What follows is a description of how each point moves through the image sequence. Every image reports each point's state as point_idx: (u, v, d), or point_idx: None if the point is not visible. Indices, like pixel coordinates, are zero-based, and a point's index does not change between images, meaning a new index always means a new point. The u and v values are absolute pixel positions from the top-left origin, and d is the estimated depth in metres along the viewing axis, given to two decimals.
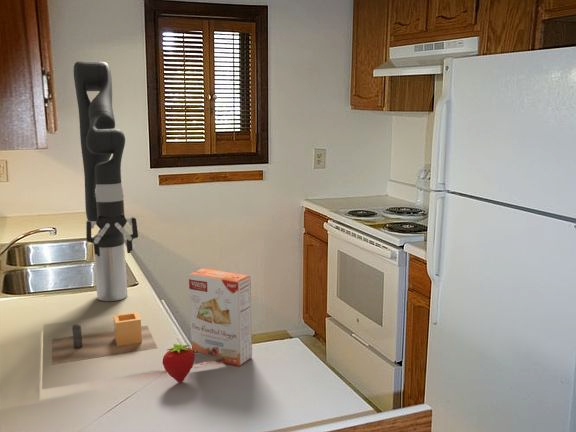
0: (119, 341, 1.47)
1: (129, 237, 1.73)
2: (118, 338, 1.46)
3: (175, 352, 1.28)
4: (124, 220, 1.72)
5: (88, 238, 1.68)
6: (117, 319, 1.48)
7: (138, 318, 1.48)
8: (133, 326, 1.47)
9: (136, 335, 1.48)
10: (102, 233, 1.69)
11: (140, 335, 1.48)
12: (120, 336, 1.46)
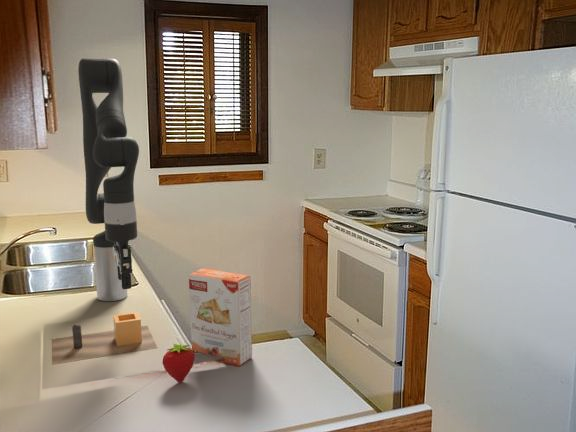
0: (119, 341, 1.47)
1: None
2: (118, 338, 1.46)
3: (175, 352, 1.28)
4: None
5: (131, 268, 1.41)
6: (117, 319, 1.48)
7: (138, 318, 1.48)
8: (133, 326, 1.47)
9: (136, 335, 1.48)
10: (131, 259, 1.44)
11: (140, 335, 1.48)
12: (120, 336, 1.46)
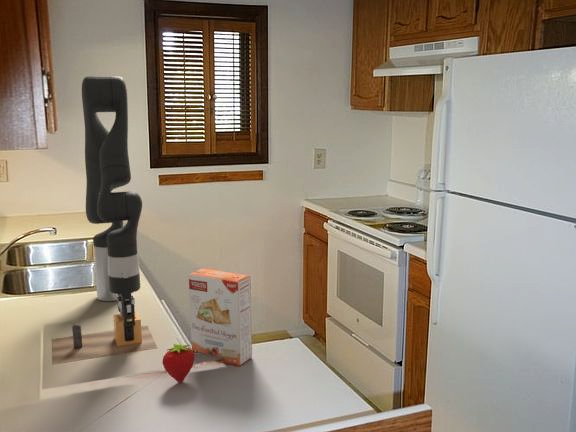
0: (119, 341, 1.47)
1: None
2: (118, 338, 1.46)
3: (175, 352, 1.28)
4: None
5: (134, 322, 1.44)
6: (117, 319, 1.48)
7: (138, 318, 1.48)
8: (133, 326, 1.47)
9: (136, 335, 1.48)
10: (134, 311, 1.47)
11: (140, 335, 1.48)
12: (120, 336, 1.46)
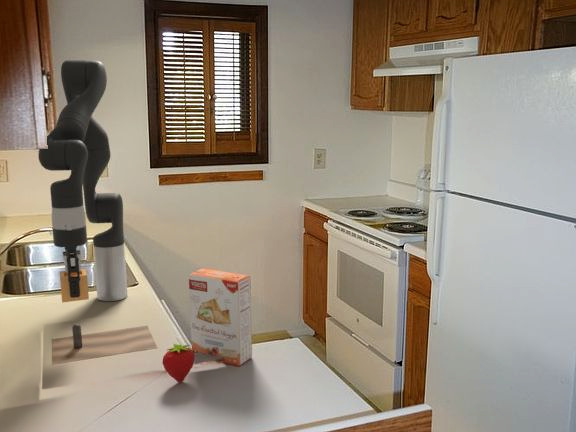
0: (64, 298, 1.40)
1: None
2: (63, 294, 1.40)
3: (175, 352, 1.28)
4: None
5: (79, 276, 1.38)
6: (62, 275, 1.41)
7: (85, 274, 1.42)
8: (79, 282, 1.41)
9: (82, 291, 1.41)
10: (80, 266, 1.41)
11: (87, 292, 1.42)
12: (65, 292, 1.40)
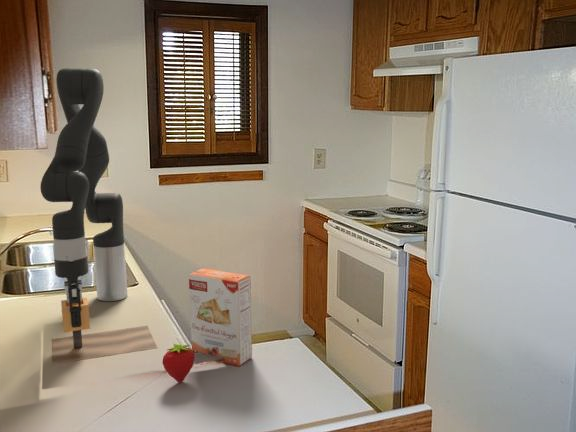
0: (66, 327, 1.41)
1: None
2: (64, 324, 1.41)
3: (175, 352, 1.28)
4: None
5: (80, 307, 1.39)
6: (64, 304, 1.42)
7: (86, 303, 1.43)
8: None
9: (84, 321, 1.43)
10: (81, 296, 1.42)
11: (88, 321, 1.43)
12: (67, 322, 1.41)
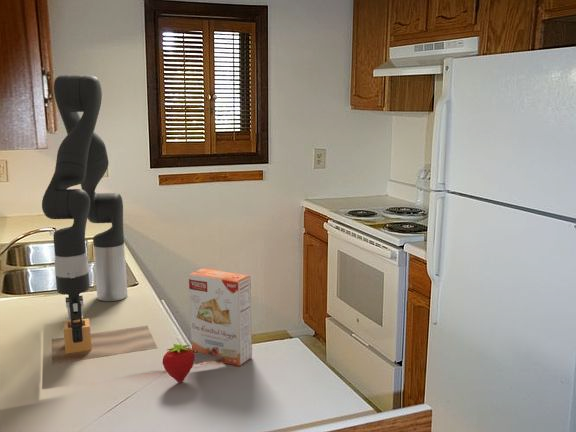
0: (68, 349, 1.42)
1: None
2: (66, 345, 1.42)
3: (175, 352, 1.28)
4: None
5: None
6: (66, 326, 1.44)
7: (88, 325, 1.44)
8: (82, 333, 1.43)
9: (85, 342, 1.44)
10: None
11: (90, 342, 1.44)
12: (68, 343, 1.42)
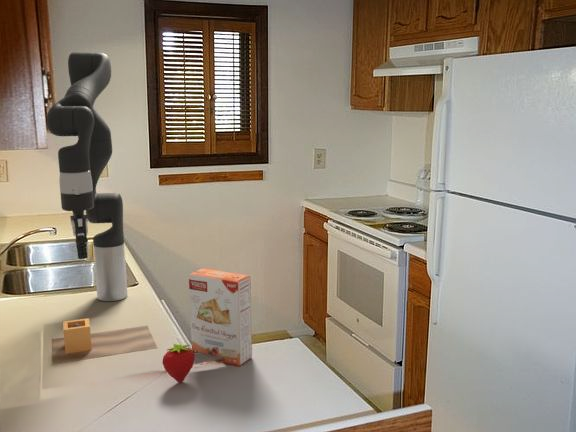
0: (68, 349, 1.42)
1: None
2: (66, 345, 1.42)
3: (175, 352, 1.28)
4: None
5: (86, 238, 1.41)
6: (66, 326, 1.44)
7: (88, 325, 1.44)
8: (82, 333, 1.43)
9: (85, 342, 1.44)
10: (87, 229, 1.44)
11: (90, 342, 1.44)
12: (68, 343, 1.42)
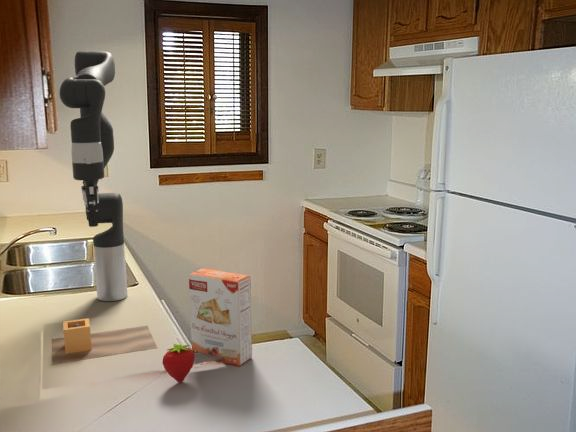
0: (68, 349, 1.42)
1: None
2: (66, 345, 1.42)
3: (175, 352, 1.28)
4: None
5: (97, 205, 1.46)
6: (66, 326, 1.44)
7: (88, 325, 1.44)
8: (82, 333, 1.43)
9: (85, 342, 1.44)
10: None
11: (90, 342, 1.44)
12: (68, 343, 1.42)
